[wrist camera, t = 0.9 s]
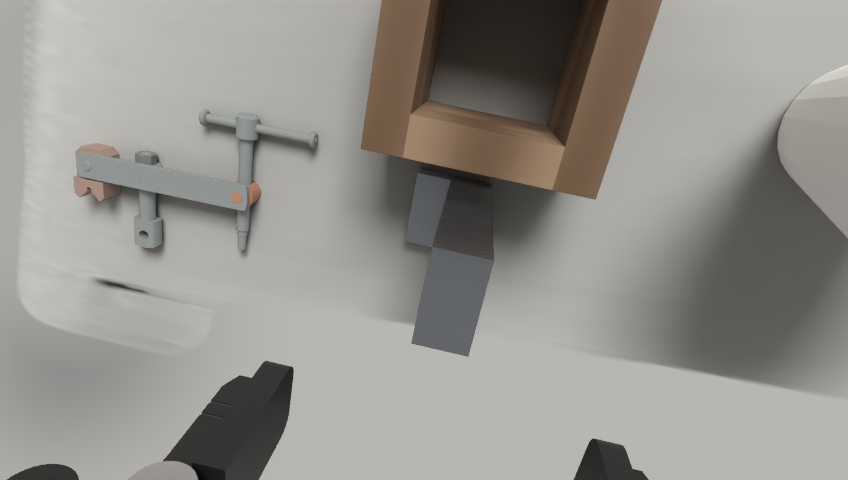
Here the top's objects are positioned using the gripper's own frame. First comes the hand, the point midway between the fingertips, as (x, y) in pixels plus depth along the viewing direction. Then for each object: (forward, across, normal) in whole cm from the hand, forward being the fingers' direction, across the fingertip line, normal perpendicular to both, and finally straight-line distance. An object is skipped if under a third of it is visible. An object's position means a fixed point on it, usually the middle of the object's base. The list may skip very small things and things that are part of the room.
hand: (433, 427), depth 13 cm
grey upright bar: (+19, +1, 0) cm, 19 cm away
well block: (+19, 0, -10) cm, 21 cm away
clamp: (+20, +17, +2) cm, 26 cm away
